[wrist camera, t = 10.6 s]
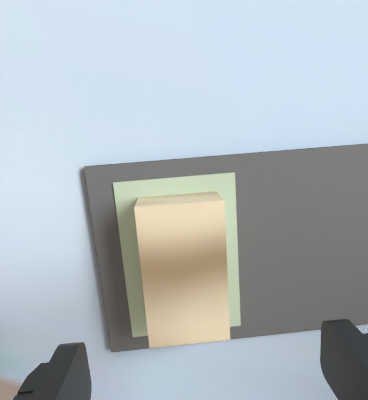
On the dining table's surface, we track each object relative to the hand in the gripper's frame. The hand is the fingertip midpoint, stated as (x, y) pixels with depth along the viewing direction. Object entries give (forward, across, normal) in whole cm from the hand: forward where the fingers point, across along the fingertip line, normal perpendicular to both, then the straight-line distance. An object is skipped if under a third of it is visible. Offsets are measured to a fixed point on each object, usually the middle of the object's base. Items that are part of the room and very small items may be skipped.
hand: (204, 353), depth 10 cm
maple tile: (+8, 0, 0) cm, 8 cm away
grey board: (+9, -4, 0) cm, 10 cm away
